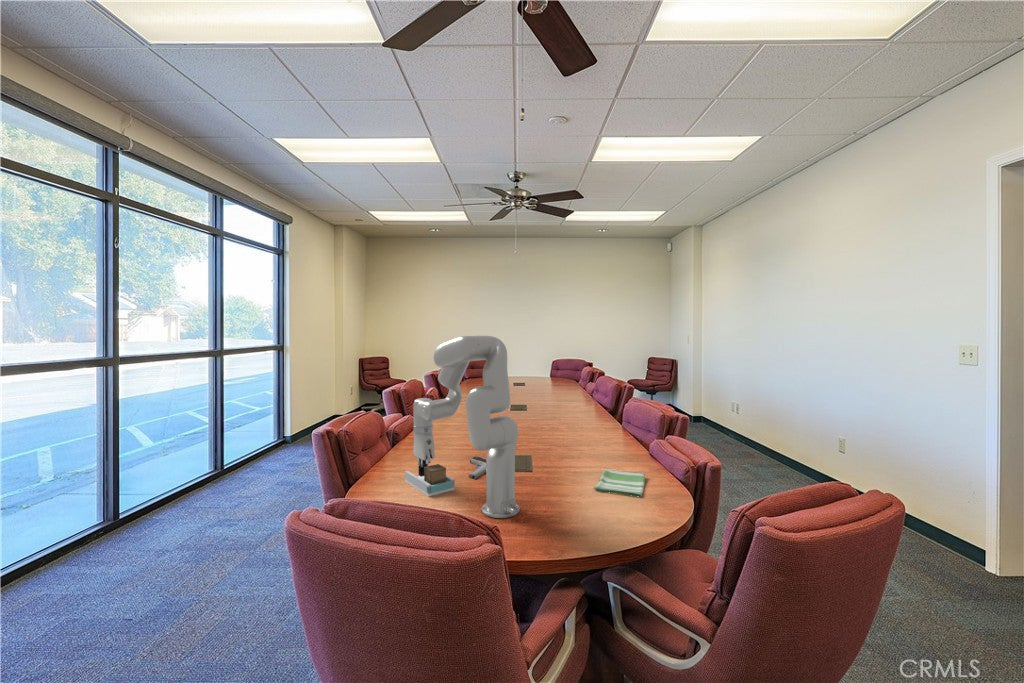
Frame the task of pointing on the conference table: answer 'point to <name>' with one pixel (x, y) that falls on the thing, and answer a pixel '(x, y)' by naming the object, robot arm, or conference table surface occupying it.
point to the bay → (428, 488)
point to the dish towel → (621, 482)
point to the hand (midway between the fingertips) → (423, 475)
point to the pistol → (478, 466)
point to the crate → (435, 474)
